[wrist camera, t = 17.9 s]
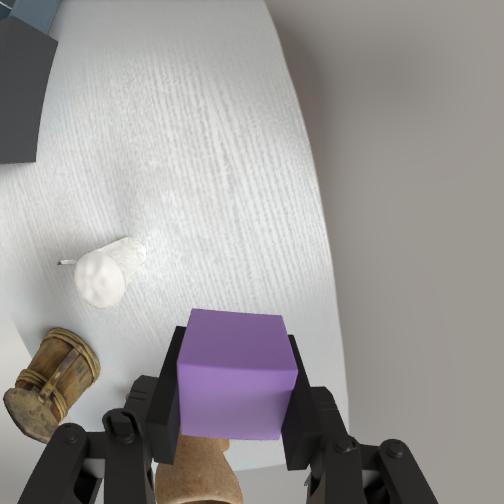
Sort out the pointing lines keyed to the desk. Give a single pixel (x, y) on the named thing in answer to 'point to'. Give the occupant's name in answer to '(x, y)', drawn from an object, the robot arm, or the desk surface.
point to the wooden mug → (51, 384)
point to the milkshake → (108, 271)
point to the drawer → (31, 12)
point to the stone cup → (197, 474)
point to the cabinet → (22, 87)
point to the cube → (234, 375)
